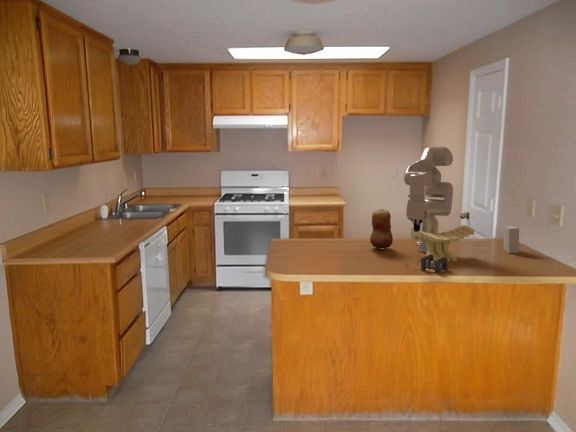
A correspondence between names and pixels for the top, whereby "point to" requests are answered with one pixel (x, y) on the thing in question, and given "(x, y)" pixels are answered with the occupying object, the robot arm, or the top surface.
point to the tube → (433, 265)
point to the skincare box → (511, 239)
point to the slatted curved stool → (442, 241)
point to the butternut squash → (381, 229)
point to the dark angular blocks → (437, 264)
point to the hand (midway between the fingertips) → (416, 231)
